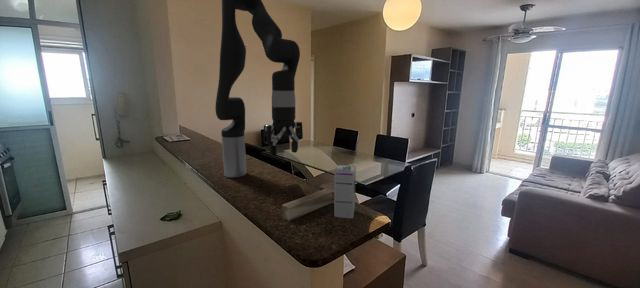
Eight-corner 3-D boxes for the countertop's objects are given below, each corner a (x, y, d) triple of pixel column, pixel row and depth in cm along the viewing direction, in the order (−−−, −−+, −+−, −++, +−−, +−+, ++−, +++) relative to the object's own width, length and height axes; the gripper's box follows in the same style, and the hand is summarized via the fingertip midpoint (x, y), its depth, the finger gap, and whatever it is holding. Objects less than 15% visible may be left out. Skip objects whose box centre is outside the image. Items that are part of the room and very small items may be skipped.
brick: (287, 197, 92) (287, 184, 92) (298, 195, 94) (298, 183, 93) (293, 210, 83) (293, 196, 82) (306, 208, 84) (306, 194, 83)
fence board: (282, 217, 77) (282, 204, 77) (325, 200, 90) (325, 188, 89) (289, 221, 75) (288, 208, 74) (331, 202, 88) (331, 191, 87)
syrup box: (353, 219, 77) (355, 171, 74) (333, 217, 78) (334, 170, 75) (354, 210, 82) (356, 165, 79) (336, 208, 83) (337, 164, 80)
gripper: (293, 103, 92) (293, 149, 95) (257, 105, 82) (259, 155, 85) (308, 105, 87) (307, 152, 90) (271, 106, 77) (273, 160, 80)
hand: (284, 154), depth 88 cm, fingers open, 8 cm apart
